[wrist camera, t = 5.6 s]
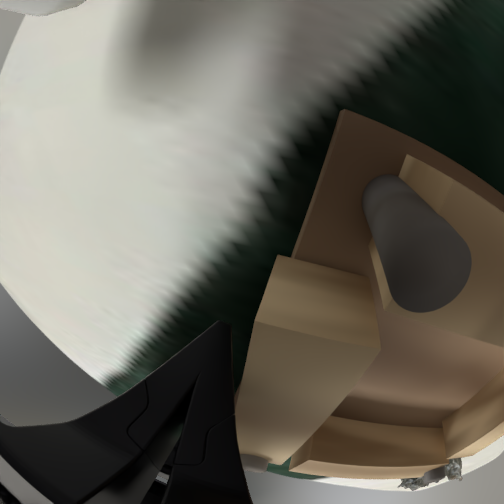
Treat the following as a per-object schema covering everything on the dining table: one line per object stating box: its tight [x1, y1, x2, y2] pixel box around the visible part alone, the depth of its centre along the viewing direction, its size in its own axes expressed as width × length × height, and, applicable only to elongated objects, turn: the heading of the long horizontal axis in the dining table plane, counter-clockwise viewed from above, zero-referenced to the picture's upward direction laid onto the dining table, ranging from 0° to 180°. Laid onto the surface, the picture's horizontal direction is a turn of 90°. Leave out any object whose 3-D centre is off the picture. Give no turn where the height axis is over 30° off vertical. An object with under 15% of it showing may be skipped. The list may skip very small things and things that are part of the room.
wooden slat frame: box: [234, 109, 504, 484], centre depth 9 cm, size 17×17×6 cm
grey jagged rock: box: [398, 457, 462, 491], centre depth 18 cm, size 11×8×4 cm
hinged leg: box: [235, 255, 381, 473], centre depth 9 cm, size 11×3×4 cm, turn 172°
